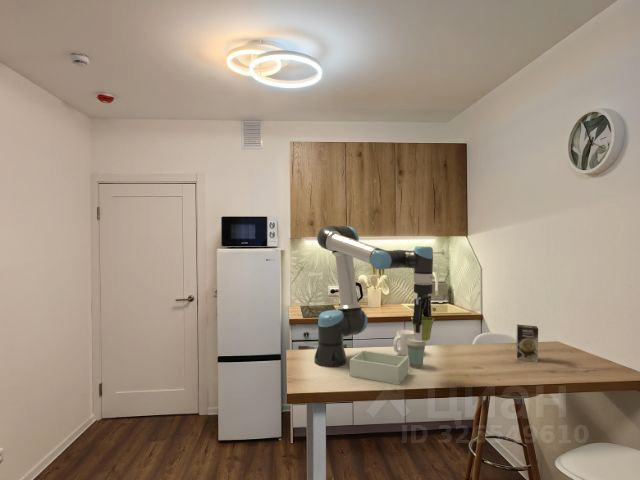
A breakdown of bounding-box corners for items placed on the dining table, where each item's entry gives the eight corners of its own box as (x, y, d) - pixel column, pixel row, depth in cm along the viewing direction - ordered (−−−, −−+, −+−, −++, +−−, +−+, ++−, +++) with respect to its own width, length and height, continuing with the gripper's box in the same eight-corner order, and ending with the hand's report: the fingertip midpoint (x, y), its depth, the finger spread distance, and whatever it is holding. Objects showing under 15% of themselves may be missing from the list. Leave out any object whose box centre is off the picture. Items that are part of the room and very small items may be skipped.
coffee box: (516, 360, 193) (517, 326, 193) (515, 356, 199) (516, 324, 199) (538, 362, 190) (538, 328, 190) (536, 358, 196) (536, 325, 196)
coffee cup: (426, 369, 178) (426, 342, 178) (406, 368, 180) (406, 341, 180) (425, 363, 186) (425, 338, 186) (406, 362, 188) (406, 337, 188)
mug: (403, 358, 195) (403, 336, 195) (387, 353, 203) (387, 332, 203) (421, 353, 203) (421, 332, 203) (405, 349, 211) (405, 328, 211)
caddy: (349, 375, 169) (349, 359, 169) (362, 365, 183) (362, 350, 183) (398, 384, 160) (398, 366, 160) (408, 373, 173) (408, 357, 173)
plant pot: (437, 341, 163) (437, 320, 162) (414, 342, 162) (415, 320, 162) (429, 336, 172) (429, 315, 172) (407, 336, 171) (408, 315, 171)
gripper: (423, 286, 156) (422, 345, 156) (440, 282, 173) (439, 334, 173) (404, 285, 160) (403, 342, 160) (423, 280, 177) (422, 331, 178)
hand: (422, 338), depth 167 cm, fingers closed on plant pot, 8 cm apart
